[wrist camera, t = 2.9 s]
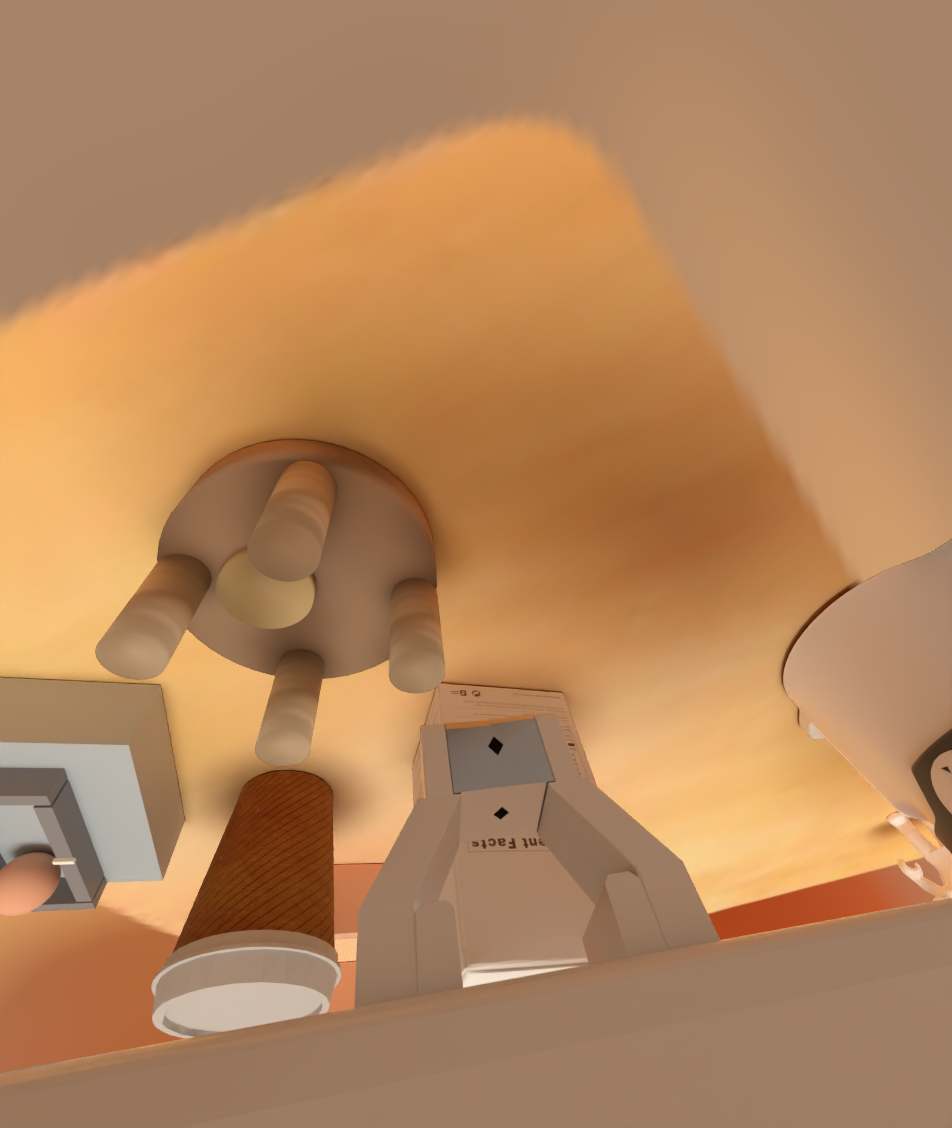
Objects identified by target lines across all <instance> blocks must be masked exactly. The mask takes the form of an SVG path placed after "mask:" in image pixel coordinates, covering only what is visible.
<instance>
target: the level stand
mask: <svg viewBox="0 0 952 1128" xmlns="http://www.w3.org/2000/svg"><path fill="white" fill-rule="evenodd" d="M184 821H185V818H184V813H183V807H182V802H181V796H180V790H179V785H178V779H177V774H176V768H175V763H174V757H173V751H172V746H171V740H170V735H169V729H168V723H167V718H166V712H165V707H164V701H163V695H162V690H161V685H149V684H128V683H107V682H86V681H65V680H44V679H23V678H2V677H0V870H1V869H2V868H3V867H4V866H5V865H6V864H8V863H9V862H10V861H12V860H14V859H15V858H17V857H19V856H22V855H25V854H28V853H33V852H43V853H47V854H50V855H52V856H53V857H55V858H54V859H53V861H52V863H53V865H60V867H61V877H60V881H59V884H58V886H57V888H56V890H55V891H54V893H53V894H52V895H51V896H50V897H49V899H48V900H46V901H45V902H44V903H43V904H42V905H40V906H39V907H37V908H36V909H34V910H32V912H34V911H56V910H79V909H80V910H81V909H95V908H96V906H97V903H98V901H99V899H100V897H101V895H102V892H103V890H104V888H105V886H106V883H107V882H131V881H162V880H163V878H164V876H165V873H166V870H167V867H168V865H169V862H170V859H171V856H172V854H173V851H174V848H175V846H176V843H177V840H178V837H179V835H180V832H181V829H182V827H183V824H184ZM30 912H31V911H30Z"/></svg>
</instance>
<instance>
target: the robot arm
mask: <svg viewBox="0 0 952 1128" xmlns="http://www.w3.org/2000/svg"><path fill="white" fill-rule="evenodd" d="M783 683H784V688H785V691H786V693H787V695H788V696H789V698H790V699H791V700H792V701H793V702H794V703H795V704H796V705H797V707H798V708H799V710H800V712H799V724H800V727H801V729H802V730H803V731H804V732H805V733H806V734H807V735H808V736H809V737H810V738H812V739H826V740H827V741H828V742H829V743H830V744H831V745H832V746H833V747H834V748H835V749H836V750H837V751H838V752H839V753H840V754H841V755H842V756H843V757H844V758H845V759H846V760H847V761H848V762H849V763H850V764H851V765H852V766H853V767H854V768H855V769H856V770H857V771H858V772H859V773H860V774H861V775H862V776H863V777H864V778H865V779H866V780H867V781H868V782H869V783H870V784H871V785H872V786H873V787H874V788H875V789H876V790H877V791H878V792H879V793H880V794H881V795H882V796H883V797H884V798H885V799H886V800H887V801H888V802H889V803H890V804H891V805H892V806H893V807H894V808H895V809H896V810H897V811H898V812H900V813H901V814H903V815H904V816H906V817H909V818H914V819H917V820H923V821H927V822H929V823H931V824H933V825H934V832H935V835H936V837H937V838H938V839H939V840H940V841H941V843H942V844H943V845H944V846H945V847H946V848H947V849H948V850H949V852H950V853H951V854H952V539H951V540H949V541H948V542H946V543H944V544H943V545H941V546H940V547H938V548H937V549H935V550H934V551H932V552H930V553H928V554H926V555H924V556H922V557H919V558H917V559H914V560H911V561H909V562H906V563H903V564H900V565H897V566H895V567H893V568H890V569H888V570H886V571H884V572H882V573H879V574H877V575H875V576H873V577H871V578H870V579H868V580H866V581H864V582H863V583H861V584H859V585H858V586H856V587H854V588H853V589H851V590H850V591H848V592H847V593H845V594H844V595H843V596H841V597H840V598H839V599H837V600H836V601H835V602H834V603H832V604H831V605H830V606H829V607H828V608H826V609H825V610H824V611H823V612H822V613H821V614H820V615H819V616H818V617H817V618H816V619H815V620H814V621H813V622H812V623H811V624H810V625H809V626H808V628H807V629H806V630H805V631H804V632H803V634H802V635H801V636H800V638H799V639H798V641H797V642H796V644H795V645H794V647H793V649H792V650H791V652H790V654H789V657H788V659H787V662H786V665H785V669H784V675H783ZM420 736H421V771H422V790H423V798H420V799H418V801H417V803H416V805H415V806H414V808H413V810H412V812H411V814H410V816H409V817H408V819H407V821H406V823H405V825H404V827H403V829H402V830H401V832H400V834H399V836H398V838H397V840H396V842H395V843H394V845H393V847H392V849H391V851H390V853H389V855H388V856H387V858H386V860H385V862H384V864H383V866H382V868H381V869H380V871H379V873H378V875H377V877H376V879H375V881H374V882H373V884H372V886H371V888H370V890H369V892H368V894H367V895H366V897H365V899H364V901H363V903H362V905H361V907H360V908H359V910H358V933H357V957H356V980H355V1004H354V1008H350V1009H344V1010H339V1011H334V1012H328V1013H323V1014H317V1015H312V1016H306V1017H301V1018H295V1019H290V1020H285V1021H279V1022H274V1023H268V1024H263V1025H257V1026H252V1027H247V1028H241V1029H236V1030H230V1031H225V1032H219V1033H214V1034H209V1035H203V1036H198V1037H192V1038H187V1039H181V1040H176V1041H171V1042H165V1043H160V1044H154V1045H149V1046H143V1047H138V1048H133V1049H128V1050H123V1051H116V1052H111V1053H106V1054H100V1055H95V1056H90V1057H84V1058H78V1059H73V1060H67V1061H62V1062H57V1063H51V1064H46V1065H41V1066H35V1067H29V1068H24V1069H19V1070H13V1071H8V1072H2V1073H0V1128H952V898H948V899H942V900H937V901H931V902H926V903H920V904H916V905H910V906H904V907H899V908H893V909H888V910H882V911H877V912H872V913H866V914H861V915H855V916H850V917H844V918H840V919H833V920H828V921H823V922H817V923H812V924H806V925H801V926H795V927H790V928H785V929H779V930H774V931H768V932H763V933H757V934H752V935H747V936H741V937H736V938H731V939H725V940H720V939H719V937H718V934H717V932H716V930H715V928H714V926H713V924H712V922H711V920H710V918H709V916H708V913H707V911H706V909H705V907H704V905H703V903H702V901H701V899H700V897H699V895H698V893H697V891H696V888H695V886H694V884H693V882H692V880H691V878H690V876H689V874H688V872H687V870H686V868H685V865H684V863H683V861H682V860H680V859H679V858H678V857H677V856H676V855H675V854H674V853H672V852H671V851H670V850H669V849H668V848H667V847H666V846H664V845H663V844H662V843H661V842H660V841H659V840H658V839H656V838H655V837H654V836H653V835H652V834H651V833H650V832H648V831H647V830H646V829H645V828H644V827H643V826H642V825H640V824H639V823H638V822H637V821H636V820H635V819H633V818H632V817H631V816H630V815H629V814H628V813H627V812H625V811H624V810H623V809H622V808H621V807H620V806H619V805H617V804H616V803H615V802H614V801H613V800H612V799H611V798H609V797H608V796H607V795H606V794H605V793H604V792H603V791H601V790H600V789H599V788H598V787H597V786H596V785H595V784H593V783H592V782H591V781H590V780H589V779H588V778H583V779H581V778H580V775H579V773H578V770H577V767H576V765H575V762H574V759H573V756H572V754H571V751H570V748H569V746H568V743H567V740H566V738H565V735H564V732H563V729H562V727H561V724H560V721H559V719H558V716H557V715H556V714H555V713H545V714H536V715H531V714H530V715H522V716H513V717H504V718H495V719H488V720H486V721H472V722H458V723H445V724H433V725H422V726H421V727H420ZM533 833H538V834H537V836H538V837H539V838H540V839H541V840H542V842H543V843H544V844H545V845H546V846H547V848H548V849H549V850H550V851H551V852H552V854H553V855H554V856H555V857H556V859H557V860H558V861H559V862H560V863H561V865H562V866H563V867H564V868H565V869H566V871H567V872H568V873H569V874H570V875H571V877H572V878H573V879H574V880H575V881H576V883H577V884H578V885H579V886H580V888H581V889H582V890H583V891H584V892H585V894H586V895H587V896H588V897H589V898H590V900H591V901H592V902H593V903H594V904H595V908H594V911H593V913H592V916H591V918H590V921H589V923H588V925H587V928H586V930H585V933H584V935H583V938H582V941H583V944H584V948H585V952H586V955H587V959H588V962H589V965H583V966H578V967H573V968H567V969H562V970H556V971H551V972H545V973H540V974H534V975H529V976H524V977H518V978H513V979H507V980H502V981H496V982H491V983H486V984H480V985H475V986H469V987H464V988H463V981H462V973H461V964H460V955H459V946H458V938H457V929H456V920H455V912H454V906H452V905H451V904H450V903H449V902H447V901H446V900H440V901H438V900H439V897H440V895H441V892H442V889H443V887H444V884H445V882H446V879H447V877H448V874H449V871H450V869H451V866H452V864H453V861H454V859H455V856H456V853H457V851H458V848H459V844H461V843H467V842H473V841H479V840H485V839H491V838H497V837H506V836H515V835H524V834H533Z"/></svg>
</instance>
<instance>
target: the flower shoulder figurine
mask: <svg viewBox="0 0 952 1128" xmlns="http://www.w3.org/2000/svg"><path fill="white" fill-rule="evenodd" d="M887 821H888V822H889V823H890V824H892V825H893V826H894V827H896V828H897V829H898V830H899V831H900V832H901V833H902V834H903V835H904V836H905V837H906V838H907V839H908V840H909V842H910V843H911V844H912V845H913V846H914V847H915V848H916V849H917V850H918V851H919V852H920V853H921V854H922V855H923V856H924V857H925V859H926V860H927V861H928V862H929V863H931V864H932V865H933V866H934V867H935V868H936V869H937V870H938V871H939V875H940V879H941V882H942V883H943V884H944V885H943V886H939V885H937V884H935V883H933V882H932V881H930V880H929V879H926V878H924V877H923V872H922V870H921V867H920V866H919V865H918V863H915V866H916V867H915V868H911V867H909V866H906V864H905V862H904V860H903V859H900V860H899V859H898V865H899V867H900V869H901V870H902V872H903V873H904V874H906V875H907V876H908V877H909V878H911V879H912V880H913V881H914V882H916V883H917V884H918V885H919V886H920V887H921V888H923V889H924V890H925V891H927V892H929V893H931V894H933V895H935V896H936V897H935V898H934V900H933V901H937V900H942V899H948V898H952V854H951V853H950V852H949V850H948V849H947V848H946V847H945V846H944V845H943V844H942V843H941V841H940V840H939V839H938V838H937V837H936V835H935V832H934V825H933V824H931V823H929V822H927V821H923V820H920V821H921V822H922V823H923V824H924V825H925V826H926V827H927V828H928V829H929V830H930V832H931V833H932V834H933V836H934V837H935V839H936V840H937V842H938V844H939V845H940V846H941V848H939V849H938V848H937V847H936V846H934V845H933V844H932V843H931V842H930V841H928V840H927V839H926V838H925V837H924V836H923V835H922V834H921V833H920V832H919V831H918V829H917V828H916V827H915V825H914V824H913V823H912V822H911V820H910V819H909V817H906V816H904V815H903V814H901V813H900V812H896V813H893V814H891V815H889V816H888V817H887Z"/></svg>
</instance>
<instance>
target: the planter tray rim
mask: <svg viewBox="0 0 952 1128" xmlns="http://www.w3.org/2000/svg"><path fill="white" fill-rule="evenodd" d="M383 864H384V863H381V864H345V865H334V872H333V873H334V939H350V938H357V933H358V910H359V908H360V907H361V905H362V903H363V901H364V899H365V897H366V895H367V894H368V892H369V890H370V888H371V886H372V884H373V882H374V881H375V879H376V877H377V875H378V873H379V871H380V869H381V868H382V866H383ZM339 964H340V966H341V979H340V981H339V983H338V984H337V985H336V987H335V988H334V990H333V994H332V998H331V1002H330V1006H329V1009H328V1011H327V1012H326V1013H328V1012H334V1011H339V1010H344V1009H350V1008H354V1004H355V980H356V961H353V962H339Z"/></svg>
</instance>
